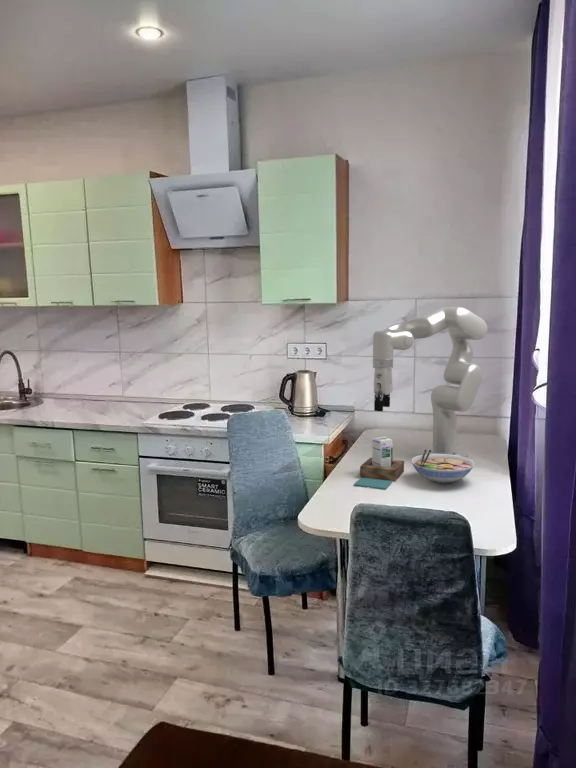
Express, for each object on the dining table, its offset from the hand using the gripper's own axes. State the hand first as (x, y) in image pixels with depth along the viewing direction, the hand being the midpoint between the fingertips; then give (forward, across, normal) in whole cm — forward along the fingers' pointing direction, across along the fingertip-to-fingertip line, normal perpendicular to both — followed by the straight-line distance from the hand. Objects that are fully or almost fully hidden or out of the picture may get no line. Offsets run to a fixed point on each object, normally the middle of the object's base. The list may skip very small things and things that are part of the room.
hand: (382, 408), depth 228 cm
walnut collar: (+26, 0, 0) cm, 26 cm away
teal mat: (+26, -12, 0) cm, 29 cm away
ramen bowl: (+26, +2, -23) cm, 35 cm away
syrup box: (+26, 0, 0) cm, 26 cm away
